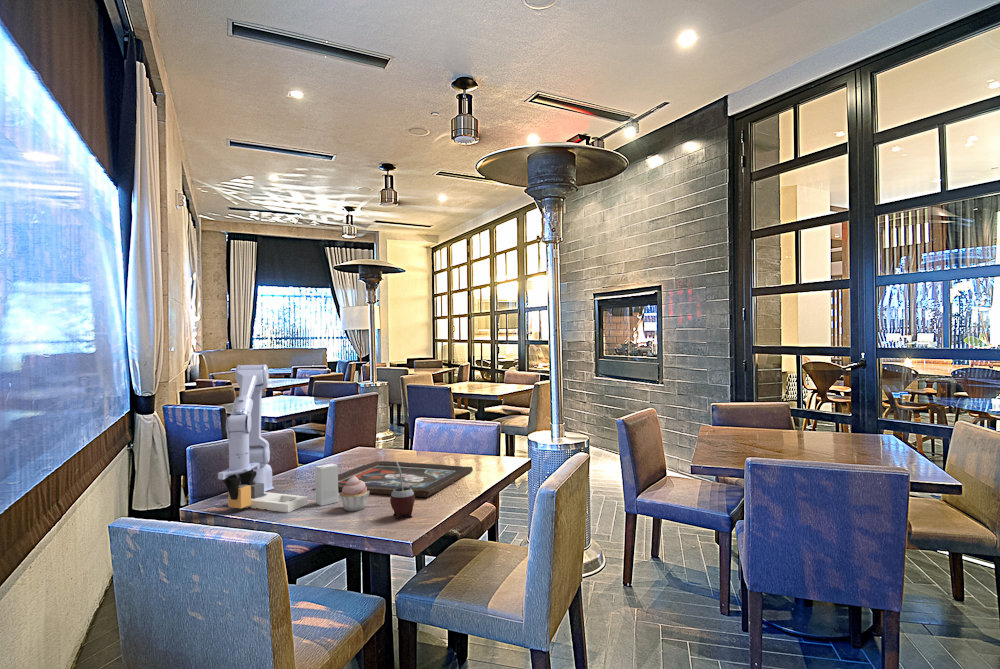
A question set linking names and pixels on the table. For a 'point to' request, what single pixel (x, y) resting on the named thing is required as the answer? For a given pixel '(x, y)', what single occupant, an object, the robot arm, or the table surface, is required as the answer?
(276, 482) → the table surface
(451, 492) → the table surface
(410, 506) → the mate gourd
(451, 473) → the religious icon
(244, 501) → the orange block
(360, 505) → the cupcake
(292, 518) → the table surface
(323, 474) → the skincare box
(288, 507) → the white recessed tray
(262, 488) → the twin plug
